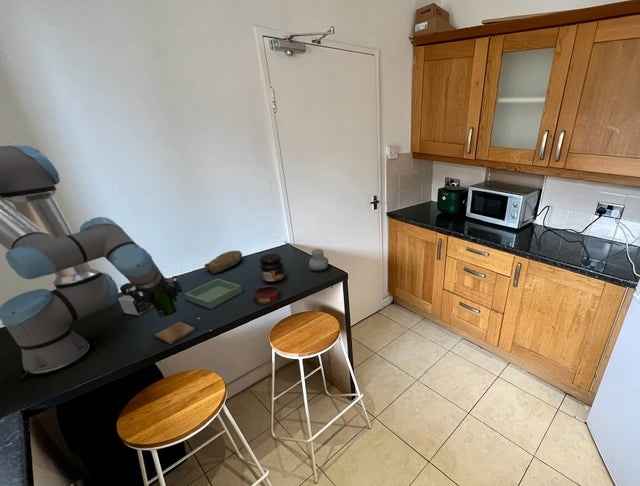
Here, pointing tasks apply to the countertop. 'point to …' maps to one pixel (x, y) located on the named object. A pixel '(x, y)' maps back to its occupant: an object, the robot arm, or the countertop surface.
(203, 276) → the countertop surface
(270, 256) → the supplement container
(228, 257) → the brown oval lump
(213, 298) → the bin
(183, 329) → the coaster
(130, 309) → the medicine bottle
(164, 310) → the beer can
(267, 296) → the canned food
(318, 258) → the air freshener
